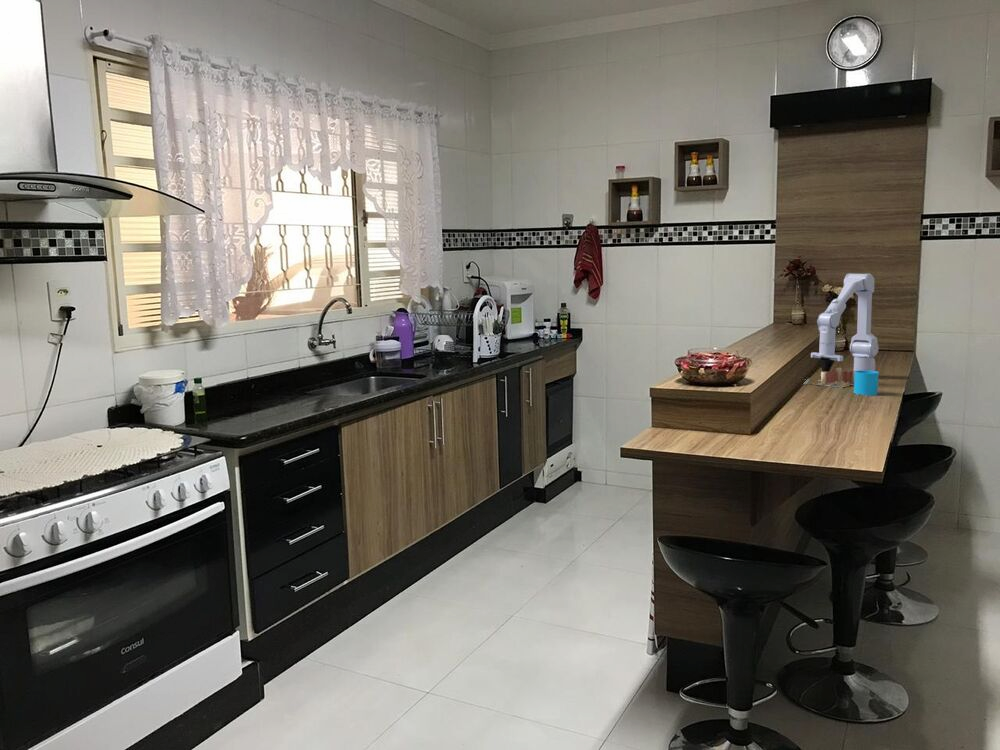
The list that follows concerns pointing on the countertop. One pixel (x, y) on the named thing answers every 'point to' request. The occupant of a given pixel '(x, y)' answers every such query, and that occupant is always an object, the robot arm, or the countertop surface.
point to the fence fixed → (846, 375)
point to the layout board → (828, 383)
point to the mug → (866, 382)
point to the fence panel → (829, 377)
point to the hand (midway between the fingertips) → (825, 377)
